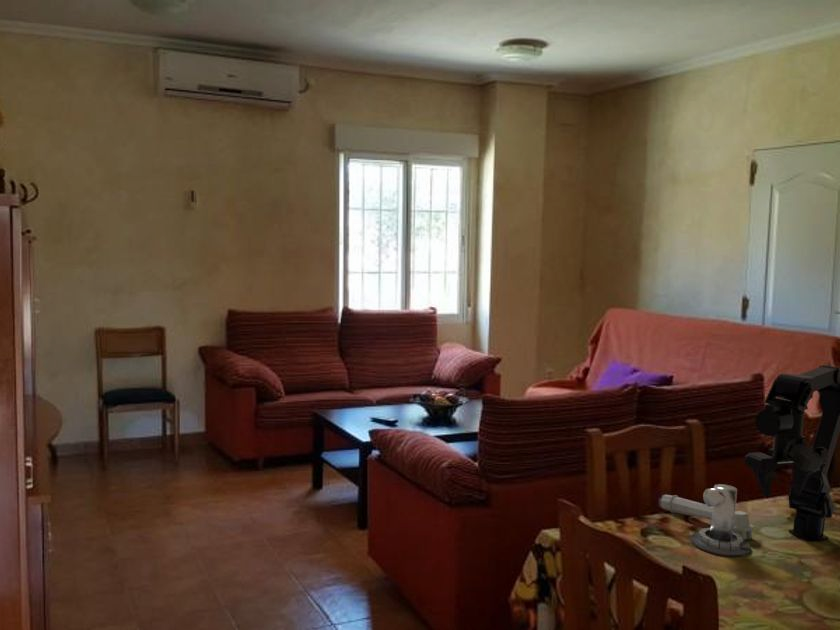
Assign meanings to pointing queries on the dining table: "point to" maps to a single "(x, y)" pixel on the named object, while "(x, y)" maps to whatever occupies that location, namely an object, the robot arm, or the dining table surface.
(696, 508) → the grey pipe
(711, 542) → the collar
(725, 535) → the elbow
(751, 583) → the dining table surface
